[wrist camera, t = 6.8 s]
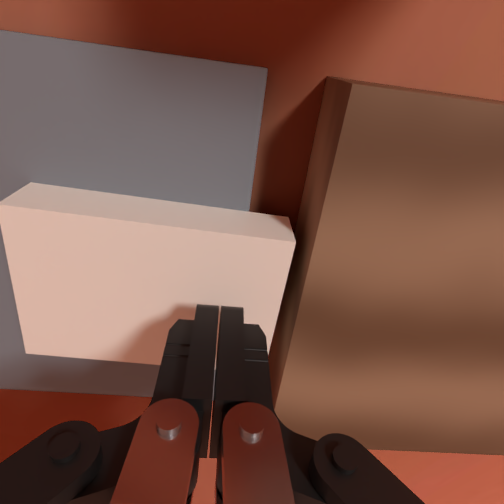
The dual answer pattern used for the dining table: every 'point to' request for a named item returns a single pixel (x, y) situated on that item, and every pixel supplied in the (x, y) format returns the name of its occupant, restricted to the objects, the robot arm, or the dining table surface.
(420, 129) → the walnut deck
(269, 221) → the cream tile
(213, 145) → the slate mat
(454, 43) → the dining table surface
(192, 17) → the dining table surface
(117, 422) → the dining table surface
